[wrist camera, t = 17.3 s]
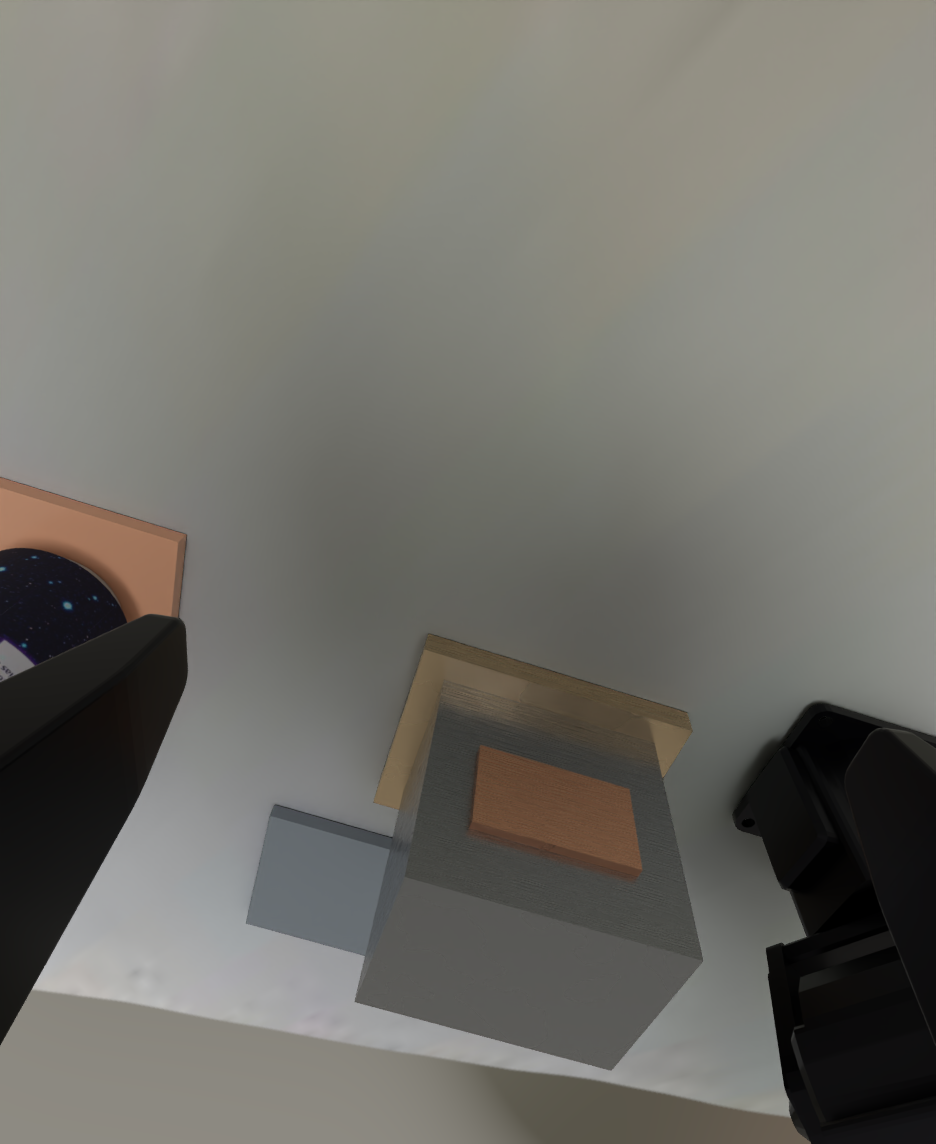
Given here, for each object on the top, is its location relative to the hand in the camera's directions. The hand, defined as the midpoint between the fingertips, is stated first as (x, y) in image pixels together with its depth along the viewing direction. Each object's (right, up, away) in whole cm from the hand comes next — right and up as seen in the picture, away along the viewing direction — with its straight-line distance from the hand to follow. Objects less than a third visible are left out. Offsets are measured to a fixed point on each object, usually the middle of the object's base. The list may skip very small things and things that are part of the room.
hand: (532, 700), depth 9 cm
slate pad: (-7, -13, +22) cm, 27 cm away
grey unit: (+1, -5, +18) cm, 18 cm away
